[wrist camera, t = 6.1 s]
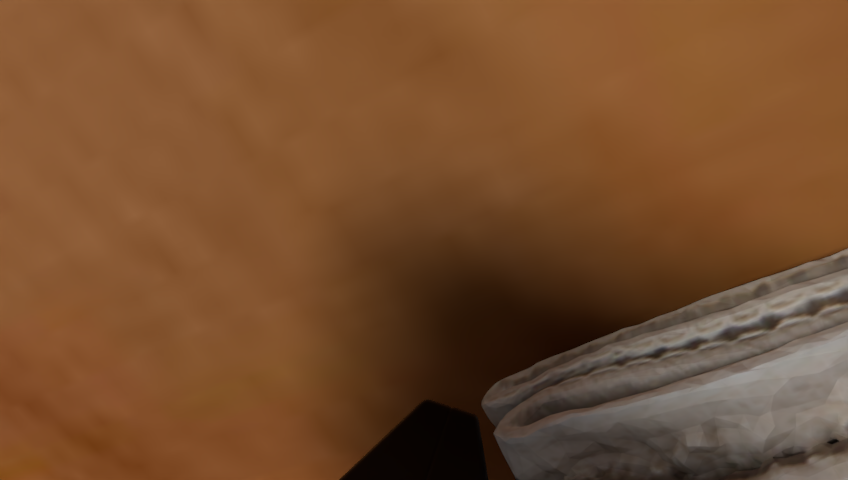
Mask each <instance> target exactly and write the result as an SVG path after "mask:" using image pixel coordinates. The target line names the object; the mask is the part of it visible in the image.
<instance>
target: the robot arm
mask: <svg viewBox="0 0 848 480" xmlns="http://www.w3.org/2000/svg"><path fill="white" fill-rule="evenodd" d="M339 480H488V475H487V469H486V463H485V457H484V451H483V444H482V438H481V432H480V426H479V420H478V418H477V416H476V415H474V414H472V413H469V412H466V411H463V410H460V409H457V408H453V407H452V408H451V407H450V406H448V405H445V404H442V403H438V402H435V401H432V400H428V399H427V400H424V401H423V402H421V403H420V404H419V405H418V406H417V407H416V408H415V409H414V410H413V411H412V412H410V413H409V414H408V415H407V416H406V417H405V418H404V419H403V420H402V421H401V422H400V423H399V424H398V425H397V426H396V427H395V428H393V429H392V430H391V431H390V432H389V433H388V434H387V435H386V436H385V437H384V438H383V439H382V440H381V441H380V442H379V443H378V444H376V445H375V446H374V447H373V448H372V449H371V450H370V451H369V452H368V453H367V454H366V455H365V456H364V457H363V458H362V459H361V460H360V461H358V462H357V463H356V464H355V465H354V466H353V467H352V468H351V469H350V470H349V471H348V472H347V473H346V474H345V475H344V476H343V477H341V478H340V479H339Z"/></svg>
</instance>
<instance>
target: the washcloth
mask: <svg viewBox="0 0 848 480" xmlns="http://www.w3.org/2000/svg"><path fill="white" fill-rule="evenodd" d="M481 406H482V408H483V410H484V412H485V413H486V415H487V417H488V419H489V420H490V421H491V422H492V423H493V425H494V426H495V427H496V429H495V431H494V433H493V434H494V436H495V438H496V441H497V443H498V445H499V447H500V449H501V451H502V453H503V455H504V457H505V459H506V461H507V463H508V465H509V467H510V469H511V471H512V472H513V474H514V476H515V479H516V480H848V248H847V249H845V250H843V251H840V252H838V253H836V254H834V255H832V256H829V257H826V258H823V259H819V260H815V261H811V262H808V263H805V264H803V265H800V266H798V267H795V268H792V269H789V270H786V271H783V272H780V273H777V274H774V275H771V276H767V277H764V278H761V279H758V280H755V281H752V282H749V283H746V284H744V285H741V286H738V287H735V288H732V289H730V290H727V291H723V292H720V293H717V294H714V295H711V296H709V297H706V298H704V299H701V300H699V301H697V302H694V303H692V304H690V305H687V306H685V307H683V308H681V309H678V310H676V311H673V312H670V313H667V314H664V315H661V316H658V317H655V318H653V319H651V320H648V321H646V322H644V323H641V324H639V325H635V326H631V327H627V328H623V329H621V330H618V331H616V332H614V333H611V334H609V335H606V336H604V337H601V338H598V339H596V340H593V341H591V342H588V343H586V344H584V345H581V346H579V347H577V348H574V349H572V350H569V351H566V352H563V353H560V354H558V355H555V356H552V357H550V358H547V359H545V360H543V361H540V362H538V363H536V364H535V365H533V366H532V367H530V368H528V369H525V370H523V371H521V372H518V373H516V374H513V375H511V376H509V377H506V378H504V379H502V380H500V381H498V382H497V383H495V384H494V385H493V386H492V387H491V388H490V389H489V390H488V391H487V393H486V395H485V396H484V398H483V400H482V403H481Z"/></svg>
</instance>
